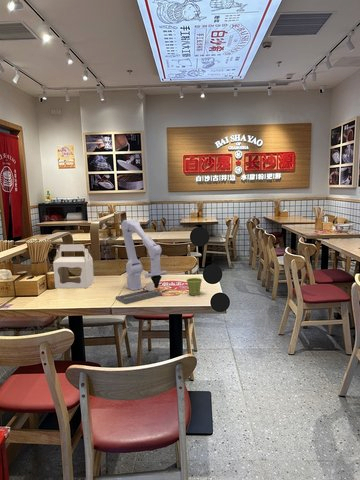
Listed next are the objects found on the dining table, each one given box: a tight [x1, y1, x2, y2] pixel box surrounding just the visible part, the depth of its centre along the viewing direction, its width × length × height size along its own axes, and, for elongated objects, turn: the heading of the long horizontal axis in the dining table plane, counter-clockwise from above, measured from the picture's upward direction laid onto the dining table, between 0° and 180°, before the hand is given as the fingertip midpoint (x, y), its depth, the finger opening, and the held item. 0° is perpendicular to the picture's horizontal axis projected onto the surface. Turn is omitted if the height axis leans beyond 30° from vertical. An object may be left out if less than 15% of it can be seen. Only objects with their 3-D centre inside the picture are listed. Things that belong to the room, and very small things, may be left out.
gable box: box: [52, 243, 95, 289], centre depth 225 cm, size 22×13×28 cm, turn 85°
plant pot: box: [185, 277, 203, 296], centre depth 200 cm, size 9×9×9 cm
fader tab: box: [145, 281, 156, 292], centre depth 201 cm, size 4×3×5 cm
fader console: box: [115, 289, 163, 305], centre depth 197 cm, size 12×24×2 cm, turn 127°
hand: (156, 287), depth 204 cm, fingers closed
